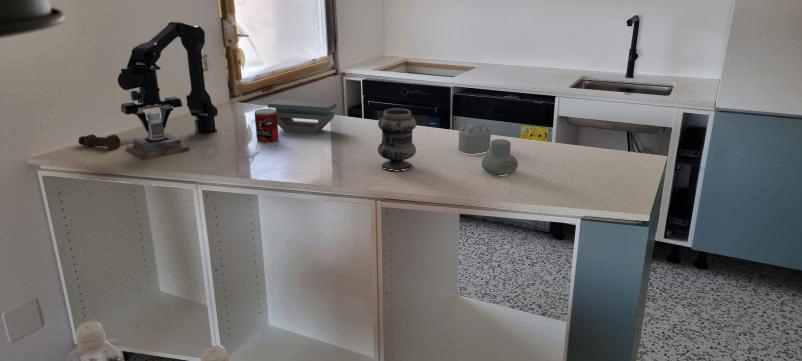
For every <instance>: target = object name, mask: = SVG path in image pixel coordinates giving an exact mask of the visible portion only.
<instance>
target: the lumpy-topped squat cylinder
mask: <svg viewBox="0 0 802 361" xmlns="http://www.w3.org/2000/svg"><path fill="white" fill-rule="evenodd" d="M491 131H492V129H491V127H490V126H486V125H485V124H483V123H474V122H473V123H469V124H467V125H466V124H463V125H461V126H460V129H459V131H458V152H459V151H461V152H463V153H467V154H477V153H483V152H487V151H488V150H489V149H490V150H491V135H492V134H491V133H492V132H491ZM490 150H489V151H490Z"/></svg>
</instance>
